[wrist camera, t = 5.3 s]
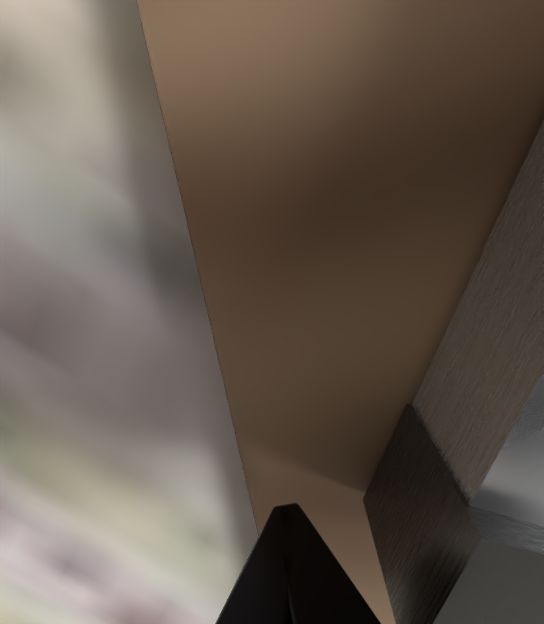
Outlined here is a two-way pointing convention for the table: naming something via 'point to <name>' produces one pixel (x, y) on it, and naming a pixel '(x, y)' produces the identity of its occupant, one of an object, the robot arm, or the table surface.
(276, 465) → the board
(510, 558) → the tongs jaw
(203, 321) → the table surface
